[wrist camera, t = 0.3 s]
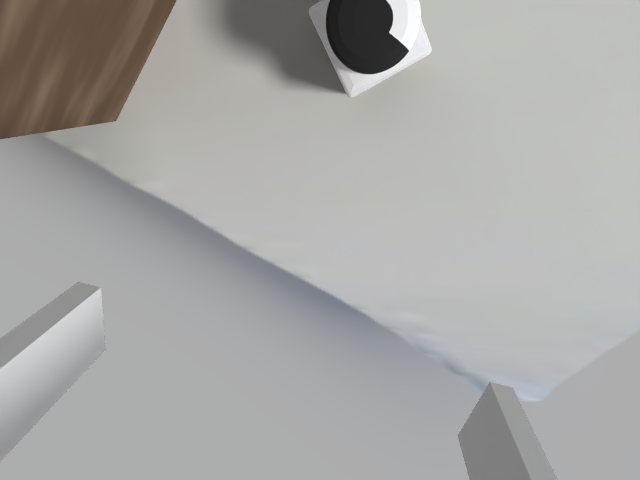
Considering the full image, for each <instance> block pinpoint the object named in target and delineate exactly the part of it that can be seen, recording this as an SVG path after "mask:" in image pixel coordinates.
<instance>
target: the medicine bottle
mask: <svg viewBox="0 0 640 480" xmlns="http://www.w3.org/2000/svg"><path fill="white" fill-rule="evenodd" d="M309 15H310V17H311V19H312V22H313V24H314V26H315V28H316V30H317V32H318V34H319V37H320V39H321V41H322V43H323V45H324V47H325V49H326V52H327V54H328V56H329V58H330V60H331V62H332V64H333V66H334V69H335V71H336V73H337V75H338V77H339V79H340V81H341V84H342V86H343V88H344V90H345V92H346V94H347V96H348V97H350V98H352V97H355V96H356V95H358V94H360V93H362V92H363V91H365V90H367V89H369V88H371V87H372V86H374V85H376V84H378V83H379V82H381V81H383V80H385V79H387V78H388V77H390V76H392V75H394V74H395V73H397V72H399V71H401V70H402V69H404V68H406V67H408V66H410V65H411V64H413V63H415V62H417V61H418V60H420V59H422V58H424V57H426V56H427V55H429V54H430V53H431V50H432V49H431V45H430V42H429V40H428V37H427V34H426V32H425V29H424V26H423V23H422V21H421V10H420V3H419V0H321V1H319V2H318V3H316V4H315V5H313V6H312V7H311V8H310V9H309Z"/></svg>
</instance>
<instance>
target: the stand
mask: <svg viewBox="0 0 640 480" xmlns="http://www.w3.org/2000/svg"><path fill="white" fill-rule="evenodd" d="M175 2H176V0H0V139H4V138H10V137H17V136H23V135H29V134H36V133H42V132H49V131H55V130H62V129H68V128H74V127H81V126H87V125H93V124H100V123H106V122H113V121H116V119H117V117H118V115H119V114H120V112H121V110H122V108H123V106H124V104H125V102H126V100H127V98H128V96H129V94H130V92H131V90H132V88H133V86H134V84H135V82H136V80H137V78H138V76H139V74H140V72H141V70H142V68H143V66H144V64H145V62H146V60H147V58H148V56H149V54H150V52H151V50H152V48H153V46H154V44H155V42H156V40H157V38H158V36H159V34H160V32H161V30H162V28H163V26H164V24H165V22H166V20H167V18H168V16H169V14H170V12H171V10H172V8H173V6H174V4H175Z"/></svg>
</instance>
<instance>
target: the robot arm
mask: <svg viewBox="0 0 640 480" xmlns="http://www.w3.org/2000/svg"><path fill="white" fill-rule="evenodd" d="M104 351H105V336H104V322H103V309H102V296H101V287H97V286H93V285H89V284H84V283H80V282H77V283H76V284H75V285H73V286H72V287H71V288H69V289H68V290H66V291H65V292H64V293H62V294H61V295H60V296H58V297H57V298H55V299H54V300H53V301H51V302H50V303H49V304H47V305H46V306H45V307H43V308H42V309H40V310H39V311H38V312H36V313H35V314H33V315H32V316H31V317H29V318H28V319H26V320H25V321H24V322H22V323H21V324H20V325H18V326H17V327H16V328H14V329H13V330H11V331H10V332H9V333H7V334H6V335H5V336H3V337H2V338H0V462H1V461H2V460H3V458H4V457H5V456H6V455H7V454H8V453H9V452H10V451H11V450H12V449H13V448H14V447H15V446H16V444H18V442H19V441H20V440H21V439H22V438H23V437H24V436H25V435H26V434H27V433H28V432H29V431H30V429H31V428H32V427H33V426H34V425H35V424H36V423H37V422H38V421H39V420H40V419H41V418H42V417H43V416H44V415H45V414H46V412H48V410H49V409H50V408H51V407H52V406H53V405H54V404H55V403H56V402H57V401H58V400H59V399H60V398H61V397H62V395H63V394H64V393H65V392H66V391H67V390H68V389H69V388H70V387H71V386H72V385H73V384H74V383H75V382H76V381H77V379H78V378H79V377H80V376H81V375H82V374H83V373H84V372H85V371H86V370H87V369H88V368H89V367H90V365H92V363H93V362H94V361H95V360H96V359H97V358H98V357H99V356H100V355H101V354H102V353H103V352H104ZM458 438H459V442H460V446H461V449H462V453H463V457H464V460H465V464H466V467H467V471H468V475H469V479H470V480H558V479H557V477H556V475H555V473H554V471H553V469H552V467H551V465H550V463H549V461H548V459H547V457H546V455H545V453H544V451H543V449H542V447H541V444H540V442H539V440H538V438H537V436H536V434H535V432H534V430H533V428H532V426H531V424H530V422H529V420H528V418H527V416H526V414H525V412H524V410H523V408H522V406H521V404H520V402H519V400H518V397H517V395H516V393H515V391H514V389H513V388H512V387H508V386H504V385H500V384H496V383H491V382H490V383H489V384H488V386H487V388H486V389H485V391H484V393H483V394H482V396H481V398H480V399H479V401H478V403H477V404H476V406H475V408H474V409H473V411H472V413H471V414H470V416H469V418H468V419H467V421H466V423H465V424H464V426H463V428H462V429H461V431H460V433H459V434H458Z"/></svg>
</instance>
